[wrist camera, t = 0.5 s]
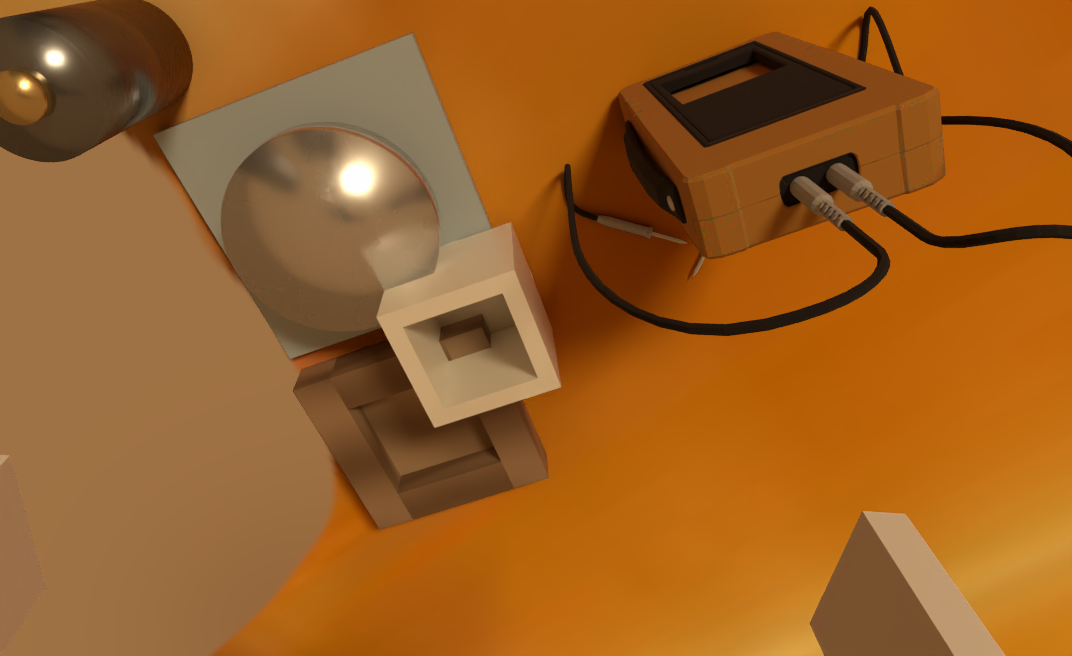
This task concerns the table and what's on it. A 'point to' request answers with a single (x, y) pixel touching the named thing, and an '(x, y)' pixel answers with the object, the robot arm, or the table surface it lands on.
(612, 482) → the table surface
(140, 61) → the cell
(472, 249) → the cup
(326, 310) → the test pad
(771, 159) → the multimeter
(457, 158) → the base
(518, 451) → the brown square tray
